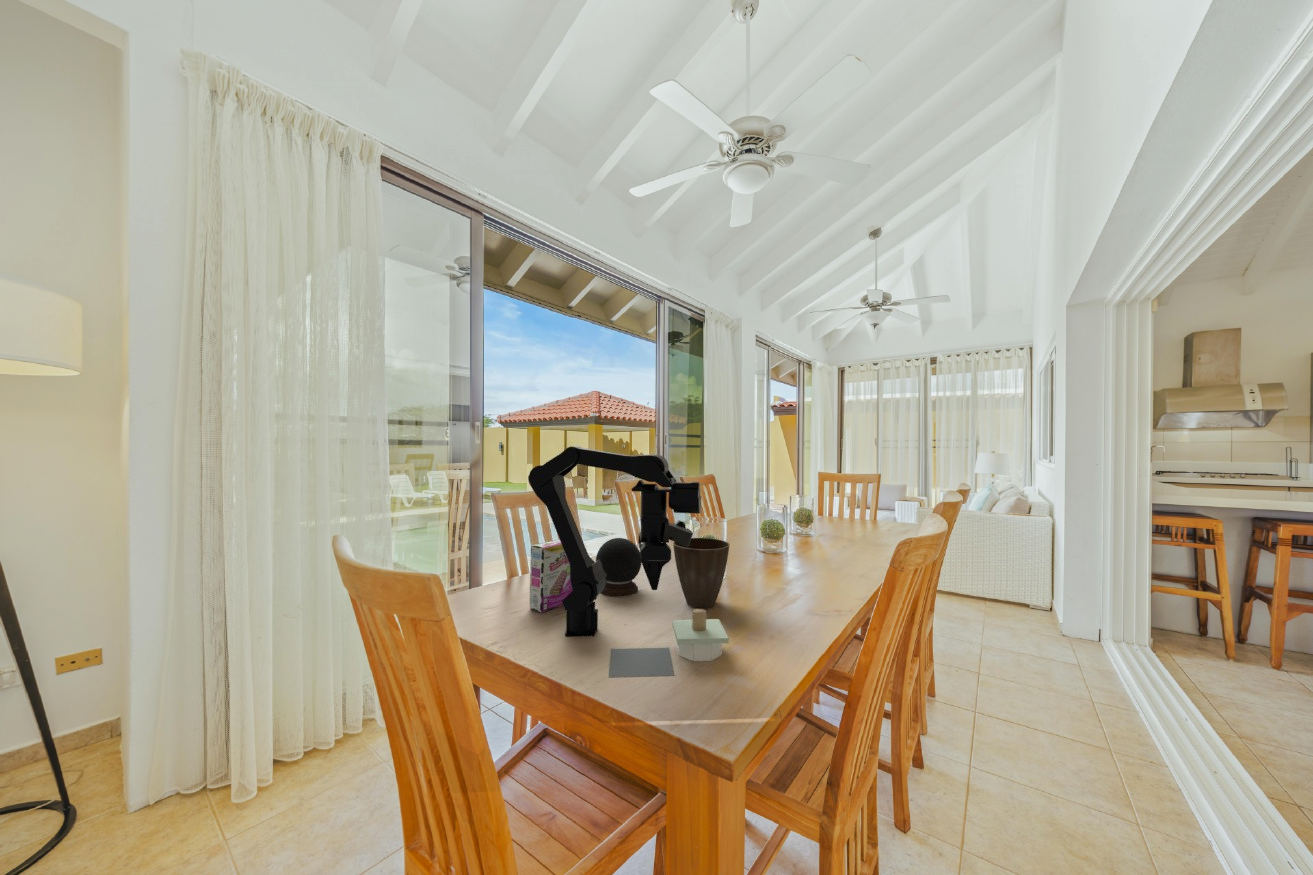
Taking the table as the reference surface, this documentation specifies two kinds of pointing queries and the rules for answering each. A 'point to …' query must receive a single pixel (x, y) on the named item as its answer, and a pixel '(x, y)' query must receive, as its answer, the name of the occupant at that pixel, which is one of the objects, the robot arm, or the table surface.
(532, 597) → the candy bar box
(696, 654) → the bowl
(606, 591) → the black ball on stand
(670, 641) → the table surface
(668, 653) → the mat
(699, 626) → the lid
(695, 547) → the plant pot
